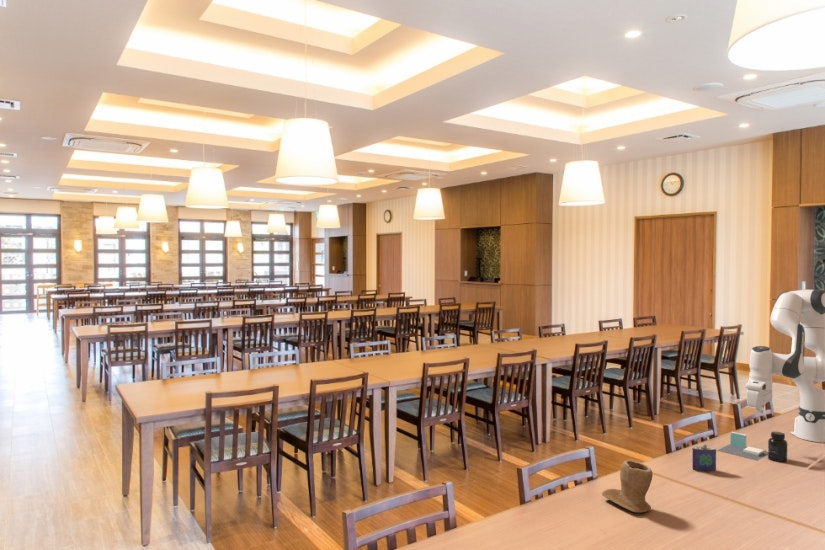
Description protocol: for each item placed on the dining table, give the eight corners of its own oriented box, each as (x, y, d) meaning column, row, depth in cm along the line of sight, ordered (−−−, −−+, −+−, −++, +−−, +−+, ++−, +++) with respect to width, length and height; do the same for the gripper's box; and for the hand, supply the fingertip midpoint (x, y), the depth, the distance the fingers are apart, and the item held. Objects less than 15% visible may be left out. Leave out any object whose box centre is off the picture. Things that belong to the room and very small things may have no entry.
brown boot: (660, 511, 184) (660, 467, 184) (633, 517, 179) (634, 472, 179) (626, 494, 198) (626, 452, 198) (600, 499, 193) (600, 457, 193)
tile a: (748, 446, 244) (743, 449, 240) (763, 450, 239) (758, 452, 235) (748, 449, 244) (743, 452, 240) (763, 453, 239) (758, 456, 235)
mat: (731, 444, 253) (731, 443, 253) (770, 453, 240) (770, 452, 240) (716, 451, 243) (716, 450, 243) (757, 462, 230) (757, 460, 230)
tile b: (731, 444, 251) (732, 431, 251) (746, 448, 246) (746, 434, 246) (730, 445, 250) (730, 432, 250) (745, 448, 245) (745, 435, 245)
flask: (714, 469, 222) (714, 443, 222) (718, 471, 219) (718, 445, 219) (691, 468, 223) (691, 442, 222) (694, 471, 220) (694, 445, 220)
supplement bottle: (791, 464, 228) (791, 435, 228) (774, 463, 228) (775, 435, 228) (780, 458, 235) (780, 430, 235) (764, 458, 235) (764, 430, 235)
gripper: (761, 378, 253) (760, 408, 254) (744, 385, 240) (743, 416, 241) (776, 380, 249) (776, 410, 249) (760, 387, 236) (759, 419, 236)
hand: (760, 413), depth 245 cm, fingers closed
